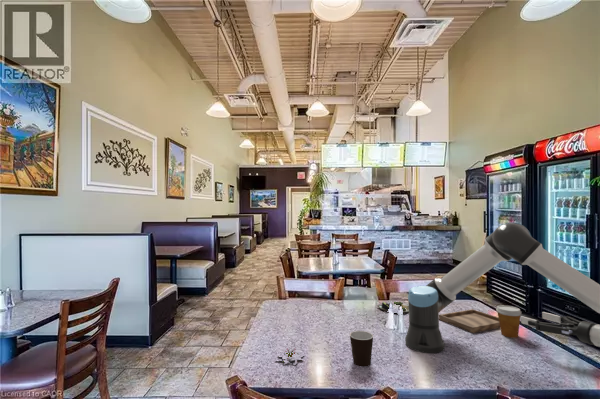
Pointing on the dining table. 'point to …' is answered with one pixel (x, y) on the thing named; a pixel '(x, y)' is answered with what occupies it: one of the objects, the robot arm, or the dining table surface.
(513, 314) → the disposable coffee cup
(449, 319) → the serving tray
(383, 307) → the salad plate
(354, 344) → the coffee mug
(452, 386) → the dining table surface
